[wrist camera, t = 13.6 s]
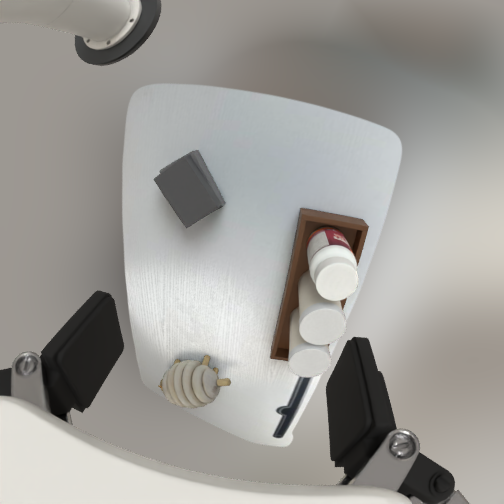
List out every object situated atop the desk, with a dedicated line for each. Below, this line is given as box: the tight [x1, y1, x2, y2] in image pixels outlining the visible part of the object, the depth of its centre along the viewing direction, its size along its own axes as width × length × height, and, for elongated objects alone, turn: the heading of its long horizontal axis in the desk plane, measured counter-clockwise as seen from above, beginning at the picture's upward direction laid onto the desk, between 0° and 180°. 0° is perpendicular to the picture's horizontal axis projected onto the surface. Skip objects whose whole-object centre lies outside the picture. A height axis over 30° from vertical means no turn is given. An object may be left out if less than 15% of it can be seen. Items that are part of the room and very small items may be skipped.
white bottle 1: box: [298, 270, 346, 345], centre depth 39 cm, size 6×6×11 cm
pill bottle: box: [307, 227, 358, 301], centre depth 35 cm, size 6×6×11 cm
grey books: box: [154, 150, 225, 228], centre depth 38 cm, size 9×6×5 cm
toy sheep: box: [158, 355, 231, 408], centre depth 51 cm, size 11×17×11 cm, turn 115°
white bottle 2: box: [288, 307, 331, 377], centre depth 42 cm, size 6×6×11 cm
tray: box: [270, 208, 369, 361], centre depth 44 cm, size 28×10×3 cm, turn 173°
